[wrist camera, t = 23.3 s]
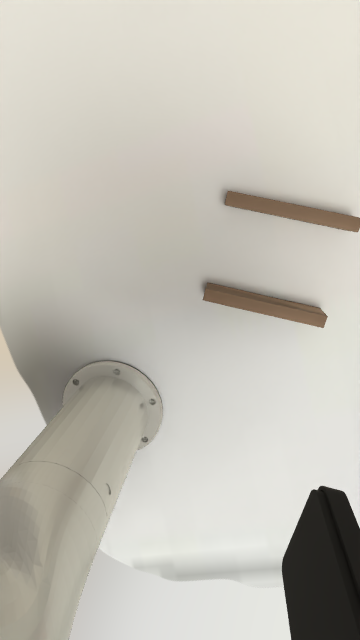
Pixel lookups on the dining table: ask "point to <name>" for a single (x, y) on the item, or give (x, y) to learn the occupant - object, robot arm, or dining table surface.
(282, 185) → the dining table surface
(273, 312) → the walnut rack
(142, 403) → the robot arm
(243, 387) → the dining table surface
